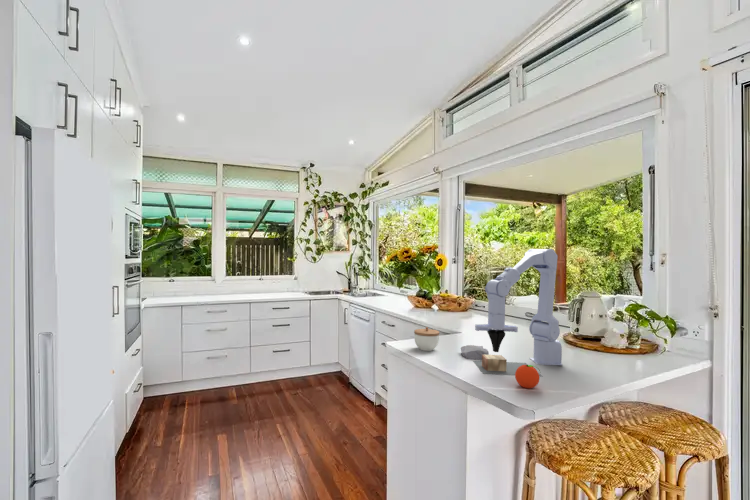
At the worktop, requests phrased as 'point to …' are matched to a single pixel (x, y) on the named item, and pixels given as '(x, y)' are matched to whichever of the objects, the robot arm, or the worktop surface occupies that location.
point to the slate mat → (510, 370)
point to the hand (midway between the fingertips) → (495, 351)
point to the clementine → (527, 376)
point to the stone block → (473, 352)
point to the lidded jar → (426, 339)
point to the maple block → (494, 362)
